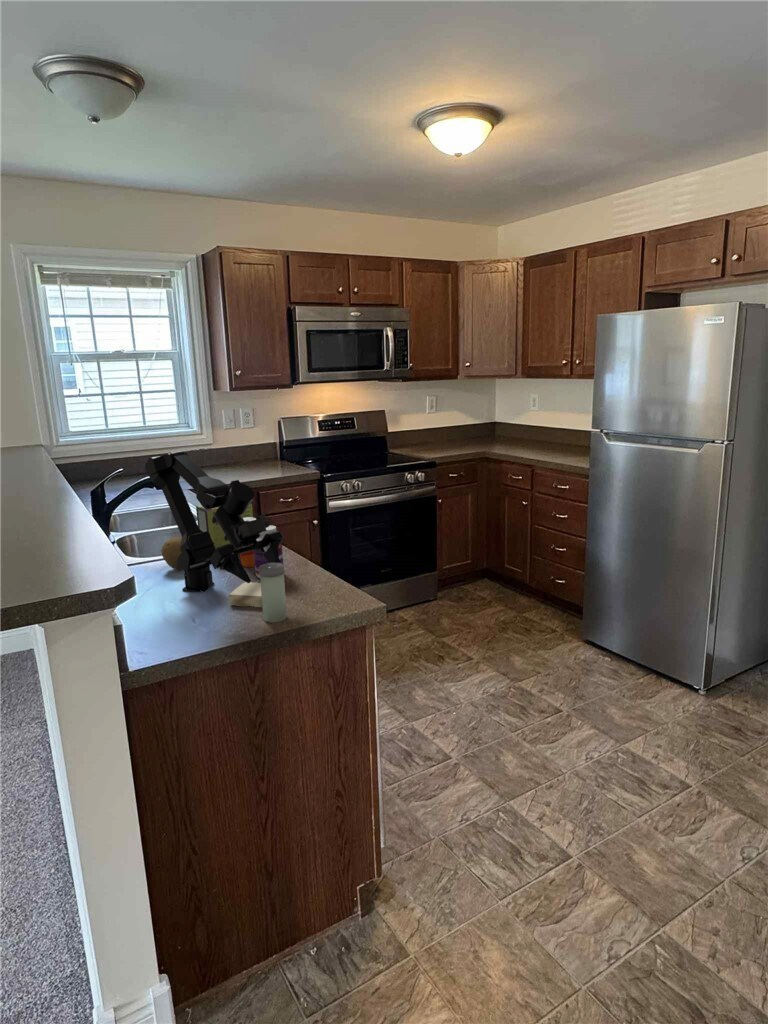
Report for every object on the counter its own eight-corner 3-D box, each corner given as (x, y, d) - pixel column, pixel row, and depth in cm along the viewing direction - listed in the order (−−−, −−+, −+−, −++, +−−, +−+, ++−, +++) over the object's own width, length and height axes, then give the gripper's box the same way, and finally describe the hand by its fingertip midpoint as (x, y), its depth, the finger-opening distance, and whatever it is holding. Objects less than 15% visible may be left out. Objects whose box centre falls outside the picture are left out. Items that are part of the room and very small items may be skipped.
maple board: (230, 605, 160) (229, 594, 159) (245, 592, 169) (244, 582, 168) (262, 607, 158) (262, 596, 157) (276, 594, 167) (275, 583, 166)
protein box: (256, 549, 207) (252, 503, 203) (211, 558, 199) (206, 511, 195) (243, 542, 215) (239, 498, 212) (199, 550, 207) (194, 505, 203)
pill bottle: (278, 581, 176) (274, 532, 173) (251, 580, 178) (247, 531, 174) (288, 571, 184) (284, 524, 181) (262, 570, 186) (258, 523, 182)
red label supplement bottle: (251, 558, 197) (248, 515, 194) (269, 562, 193) (265, 518, 189) (232, 565, 191) (228, 521, 187) (249, 570, 186) (246, 524, 183)
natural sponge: (171, 563, 194) (168, 532, 192) (199, 564, 193) (196, 532, 191) (158, 573, 186) (154, 541, 183) (187, 574, 185) (184, 541, 182)
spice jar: (258, 621, 149) (254, 570, 146) (268, 612, 155) (264, 562, 152) (282, 623, 148) (278, 571, 145) (291, 613, 154) (287, 563, 151)
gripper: (212, 514, 144) (245, 569, 139) (276, 499, 157) (308, 548, 153) (196, 541, 151) (228, 594, 146) (259, 525, 164) (290, 573, 160)
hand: (265, 576), depth 151 cm, fingers open, 9 cm apart
